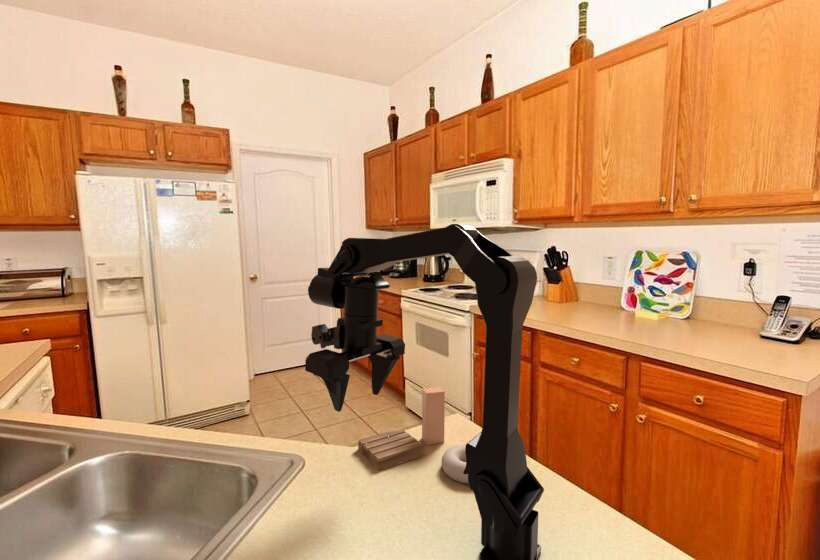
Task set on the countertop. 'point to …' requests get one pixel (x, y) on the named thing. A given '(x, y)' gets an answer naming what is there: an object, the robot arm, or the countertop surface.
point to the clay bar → (433, 415)
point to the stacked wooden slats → (390, 448)
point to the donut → (455, 463)
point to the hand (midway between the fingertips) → (357, 402)
